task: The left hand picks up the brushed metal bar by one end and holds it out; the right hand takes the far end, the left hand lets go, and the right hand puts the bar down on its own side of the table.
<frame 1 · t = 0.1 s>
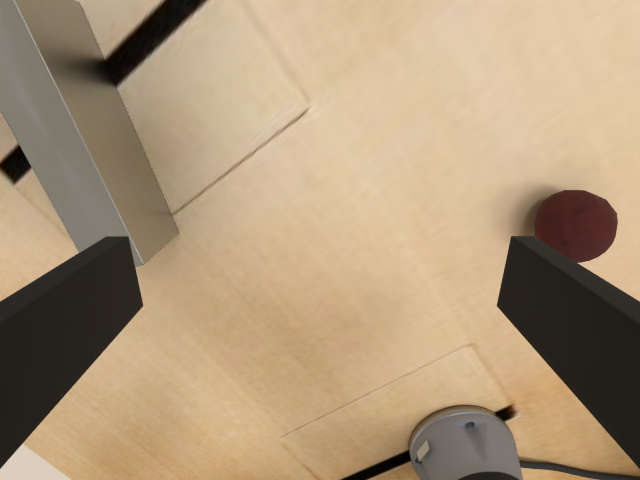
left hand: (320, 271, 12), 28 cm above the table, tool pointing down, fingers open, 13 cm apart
dark maroon ball: (552, 215, 41), on the table
bar: (112, 136, 38), on the table
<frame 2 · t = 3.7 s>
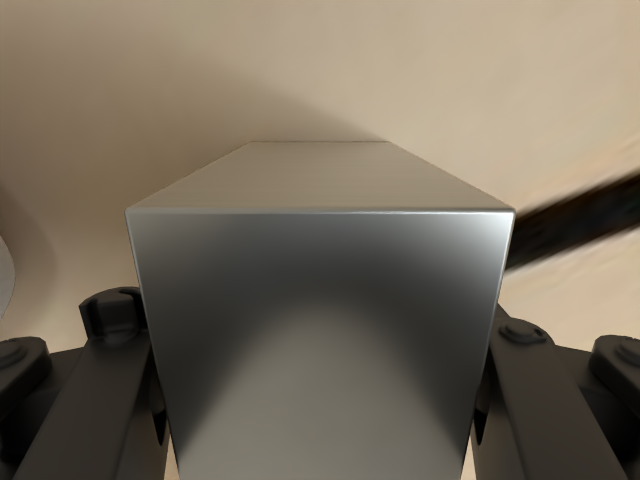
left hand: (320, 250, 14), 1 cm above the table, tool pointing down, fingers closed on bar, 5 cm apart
bar: (320, 391, 17), on the table, touching left hand
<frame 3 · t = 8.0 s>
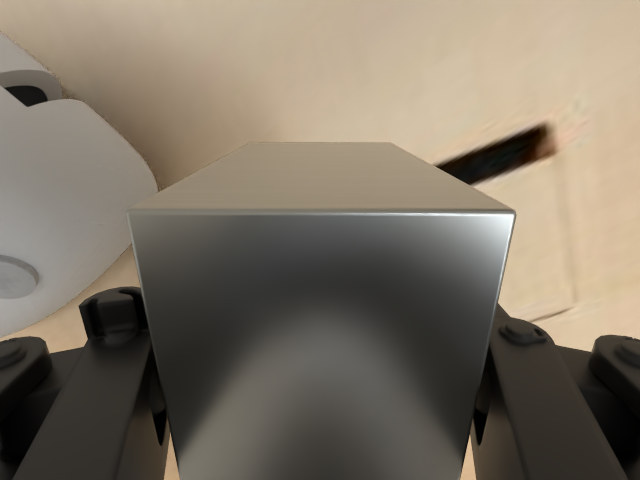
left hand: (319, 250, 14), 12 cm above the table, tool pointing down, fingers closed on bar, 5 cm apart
bar: (319, 391, 17), point 12 cm above the table, touching left hand, right hand
projector: (22, 210, 26), on the table
when the left hand's fingers open (12 cm above the table, at t = 8.8 s): bar stays where it is, held by the right hand.
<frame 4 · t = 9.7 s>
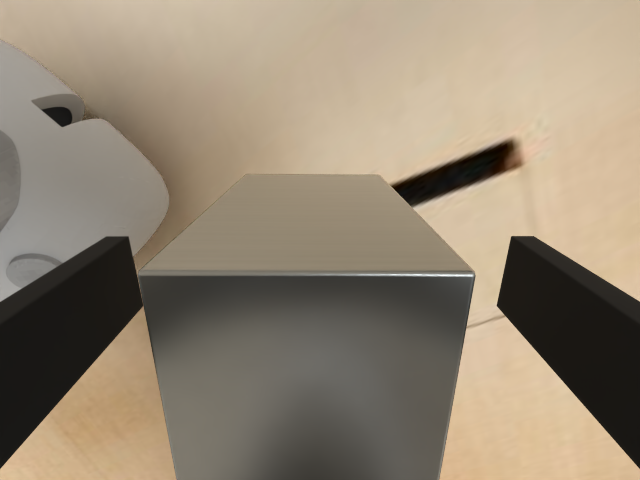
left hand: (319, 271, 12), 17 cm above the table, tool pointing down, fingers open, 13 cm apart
bar: (312, 407, 18), point 14 cm above the table, touching right hand
projector: (43, 214, 29), on the table
when the right hand's fingers open (2 cm above the table, at t = 12.9 s): bar drops 1 cm, on the table.
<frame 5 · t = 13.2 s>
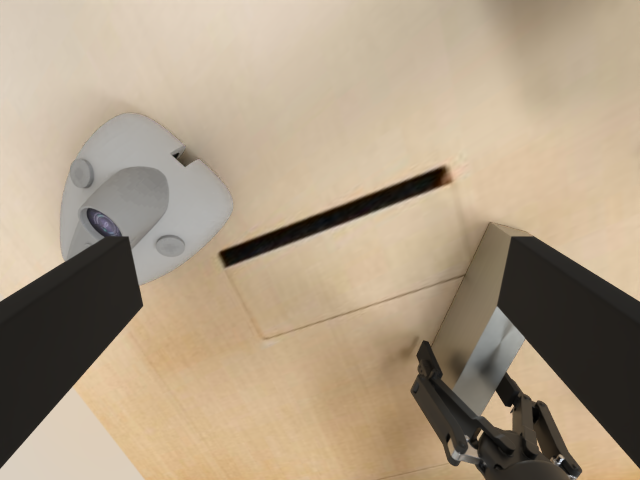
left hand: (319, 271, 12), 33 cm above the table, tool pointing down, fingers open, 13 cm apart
right hand: (456, 356, 51), fingers open, 10 cm apart
bar: (471, 302, 51), on the table
projector: (149, 213, 46), on the table
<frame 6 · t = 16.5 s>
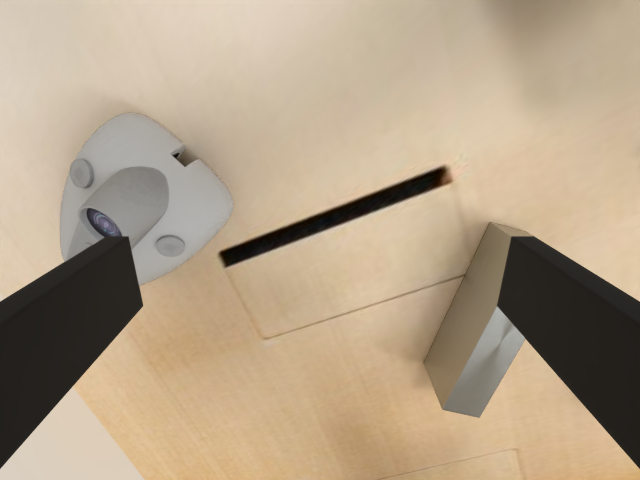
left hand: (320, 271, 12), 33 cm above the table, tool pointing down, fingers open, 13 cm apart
bar: (471, 302, 51), on the table
projector: (149, 213, 46), on the table
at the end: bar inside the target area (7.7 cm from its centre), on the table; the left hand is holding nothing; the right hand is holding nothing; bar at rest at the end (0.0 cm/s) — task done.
